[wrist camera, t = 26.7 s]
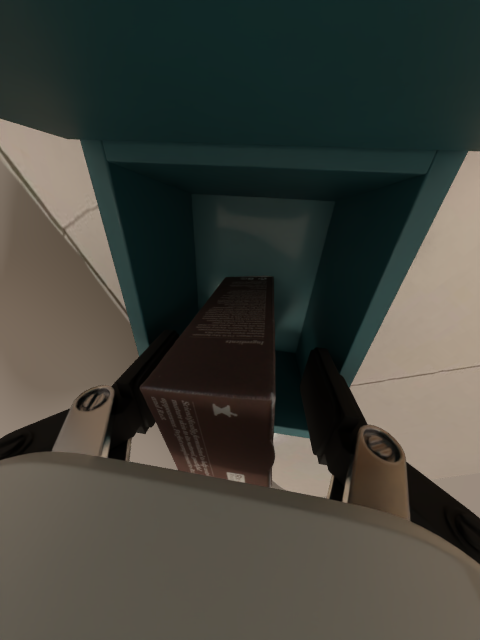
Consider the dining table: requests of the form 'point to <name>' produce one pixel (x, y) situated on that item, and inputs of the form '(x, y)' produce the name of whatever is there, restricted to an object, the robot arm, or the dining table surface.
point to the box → (221, 386)
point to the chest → (268, 238)
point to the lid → (245, 71)
